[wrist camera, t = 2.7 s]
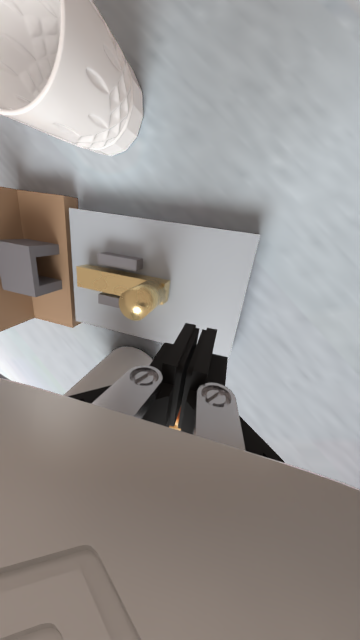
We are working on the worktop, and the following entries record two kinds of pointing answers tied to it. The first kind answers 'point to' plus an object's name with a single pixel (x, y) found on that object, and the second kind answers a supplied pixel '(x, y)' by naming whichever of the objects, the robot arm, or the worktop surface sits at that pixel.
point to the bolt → (126, 288)
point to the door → (118, 268)
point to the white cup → (67, 75)
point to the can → (111, 369)
